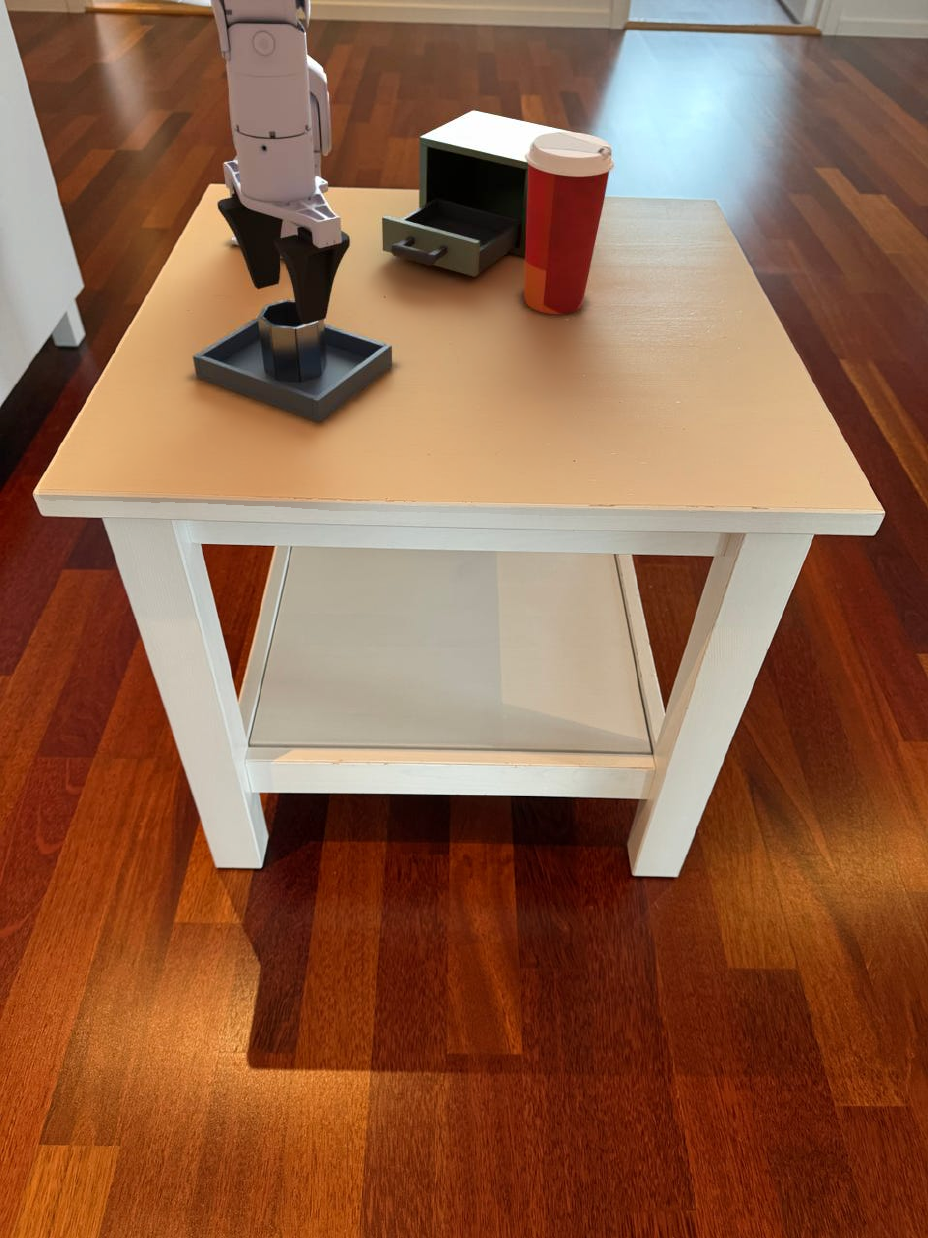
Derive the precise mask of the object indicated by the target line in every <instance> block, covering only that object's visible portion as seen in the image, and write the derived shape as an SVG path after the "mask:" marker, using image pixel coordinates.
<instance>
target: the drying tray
mask: <svg viewBox="0 0 928 1238" xmlns="http://www.w3.org/2000/svg"><path fill="white" fill-rule="evenodd" d="M324 331H325V346H326V360H327V365H326V367H325V369H324V371H323V373H322V375H321V376H319V377H316V378H313V379H310V380H307V381H304V382H299V383H298V382H288V381H278V380H275V379H274V378H273V377H272V376H270V375H269V374H268V373H267V372H266V371H264V365H263V357H262V349H261V340H260V332H259V324H258V316H256V317H255V318H253V319H252V320H250V321H249V322H247V323H245V324H243V325H242V326H240V327H239V328H237V329H235V330H233V331H232V332H231V333H228V334H227V335H226V336H224V337H222V338H220V339H219V340H217V341H215V342H214V343H212V344H210V345H209V346H207V347H206V348H204V349H202V350H200V351H199V352H197V353H195V354H194V355H192V360H193V365H194V371H195V376H196V377H195V378H197V379H198V380H202V381H205V382H206V383H209V384H213V385H215V386H217V387H220V388H223V389H226V390H228V391H231V392H234V393H236V394H239V395H242V396H245V397H248V398H250V399H253V400H255V401H258V402H262V403H264V404H267V405H270V406H272V407H275V408H277V409H280V410H283V411H285V412H289V413H290V414H294V415H296V416H299V417H302V418H305V419H307V420H311V421H313V422H316V423H321V422H323V421H324V420H325V419H327V418H328V417H329V416H330V415H332V414H333V413H335V412H336V411H337V410H338V409H340V408H341V407H342V406H344V405H345V404H346V403H347V402H349V401H350V400H351V399H353V398H354V397H355V396H356V395H358V394H359V393H360V392H361V391H363V390H364V389H365V388H367V387H368V386H369V385H371V384H372V383H373V382H374V381H376V380H377V379H378V378H379V377H381V376H382V375H384V374H385V373H386V372H387V371H388V370H390V369H391V368H392V367H393V345H391V344H387V343H385V342H382V341H380V340H379V341H378V340H375V339H373V338H369V337H366V336H363V335H361V334H358V333H354V332H351V331H348V330H344V329H341V328H339V327H336V326H333V325H330V324H326V323H324Z"/></svg>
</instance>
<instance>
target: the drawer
mask: <svg viewBox="0 0 928 1238" xmlns="http://www.w3.org/2000/svg"><path fill="white" fill-rule="evenodd" d="M521 224H522V220H520V219H516V218H512V217H508V216H504V215H501V214H497V213H493V212H489V211H485V210H481V209H477V208H473V207H470V206H466V205H462V204H458V203H454V202H450V201H446V200H442V199H438V198H435V199H434V200H432V201H430V202H429V203H427V204H425V205H424V206H422V207H420V208H419V207H418V208H417V209H415V210H413V211H412V212H410V213H408V214H407V215H405V216H403V217H401V218H398V217H394V216H391V215H384V216H382V217H381V231H382V232H381V233H382V234H381V235H382V251H383V252H387V253H389V254H392V255H393V256H394V257H398V258H400V259H401V258H402V259H405V260H408V261H411V262H416V263H419V264H422V265H426V266H436V267H440V268H442V269H446V270H450V271H454V272H456V273H460V274H463V275H468V276H470V277H477V276H478V275H479V274H480V273H482V272H484V271H485V270H486V269H487V268H489V267H490V266H491V265H493V264H494V263H496V262H497V261H499V260H500V259H501V258H502V257H504V256H506V254H508V252H509V251H510V250H512V249H513V248H515V247H516V246H517V245H519V244H520V236H521Z"/></svg>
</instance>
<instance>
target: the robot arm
mask: <svg viewBox="0 0 928 1238" xmlns="http://www.w3.org/2000/svg"><path fill="white" fill-rule="evenodd" d="M210 5H211V10H212V13H213V16H214V19H215V23H216V28H217V32H218V37H219V46H220V51H221V58H222V59H225V60H226V65H225V68H226V76H227V82H228V83H227V87H228V107H229V116H230V126H231V134H232V141H233V142H232V143H233V146H234V150H235V151H236V155H235V157H234V158H233V160H231V161H230V160H229V161H224V162H223V163H222V167H223V168H222V169H223V175H224V181H225V188H227V189H228V190H229V197H226V198H223V199H220V200H218V201H217V204H216V205H217V210H218V211H219V212H220V214H221V215H222V217H223V218H224V220H225V221H226V224H227V225H228V226H229V228H230V230H231V232H232V233H233V235H234V236H233V237H231V238H230V243H231V244H232V245H236V246H238V247H239V249H240V251H241V254H242V257H243V260H244V262H245V266H246V268H247V272H248V273H249V276H250V279H251V282H252V284H253V286H254V288H256V289H257V290H262V289H264V288H268V287H272V286H277V285H279V284H280V280H281V259H282V262H283V263H284V265H285V268H286V271H287V273H288V276H289V280H290V284H291V287H292V294H293V300H295V304H296V309H297V312H298V315H299V318H300V320H301V322H302V323H304V324H310V323H313V322H316V321H320V320H323V319H324V320H326V319H327V314H328V309H329V305H330V299H331V294H332V289H333V286H334V285H333V284H334V282H335V278H336V274H337V272H338V269H339V267H340V265H341V262H342V260H343V258H344V256H345V254H346V252H347V251H348V250H349V248H350V246H351V240H350V235H349V234H348V233H346V232H344V231H343V230H342V222H341V220H342V219H341V218H342V217H341V216H340V215H338V214H337V213H335V212H334V211H333V209H331V208H332V207H330V204H329V203H328V201H327V200H326V198H325V196H324V194H325V193H327V192H328V191H329V183H328V181H327V180H325V179H323V178H322V172H321V171H322V169H321V165H322V156H323V157H327V156H328V155H329V153H330V152H331V151H332V149H333V143H332V142H333V140H332V123H331V121H332V119H331V105H330V93H329V91H328V80H327V75H326V73H325V72H324V68H323V67H322V65H320V63H318V62H317V61H316V60H315V59H313V58H312V57H311V56H309V55H308V48H307V47H308V45H307V32H306V29H309V24H310V18H311V0H210ZM299 9H301V11H302V12H303V14H304V17H305V18H304V19H305V27H306V28H305V27H304V25H303V24H302V23H301V21H300V20H299V19H298V17H297V16H298V15H297V11H298V10H299Z"/></svg>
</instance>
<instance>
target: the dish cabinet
mask: <svg viewBox="0 0 928 1238" xmlns="http://www.w3.org/2000/svg"><path fill="white" fill-rule="evenodd" d="M553 132H571V131H569V130H565V129H560V128H555V127H550V126H546V125H541V124H537V123H532V122H528V121H523V120H520V119H519V120H518V119H514V118H509V117H506V116H500V115H496V114H491V113H486V112H483V111H477V110H471V111H469V112H467V113H465V114H463V115H461V116H459V117H458V118H455V119H453V120H452V121H449V122H447V123H445V124H443V125H441V126H439V127H437V128H435V129H433V130H430V131H429V132H427V133H426V134H423V135H421V136H419V163H418V164H419V168H418V169H419V171H418V174H419V175H418V176H419V177H418V178H419V179H418V181H419V182H418V183H419V184H418V186H419V187H418V190H419V191H418V194H419V195H418V209H419V208H420V207H422V206H424V205H425V204H427V203H429V202H430V201H432V200H434V199H435V198H438V199H442V200H446V201H450V202H454V203H458V204H462V205H466V206H470V207H473V208H477V209H481V210H485V211H489V212H493V213H497V214H501V215H504V216H508V217H512V218H516V219H520V220H522V224H521V236H520V244H519V245H517V246H516V247H515V248H513V249H512V250H510V251H509V252H508V253H509V254H513V255H516V256H518V257H523V258H525V250H526V221H527V193H528V165H529V164H528V163H527V162H526V159H525V158H524V154H525V153H526V152H527V151H529V150H530V148H529V145H530V144H531V143H532V142H533V141H534V139H535V138H536V137H538V136H540V135H542V134H546V133H553ZM508 253H507V254H508Z"/></svg>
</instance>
